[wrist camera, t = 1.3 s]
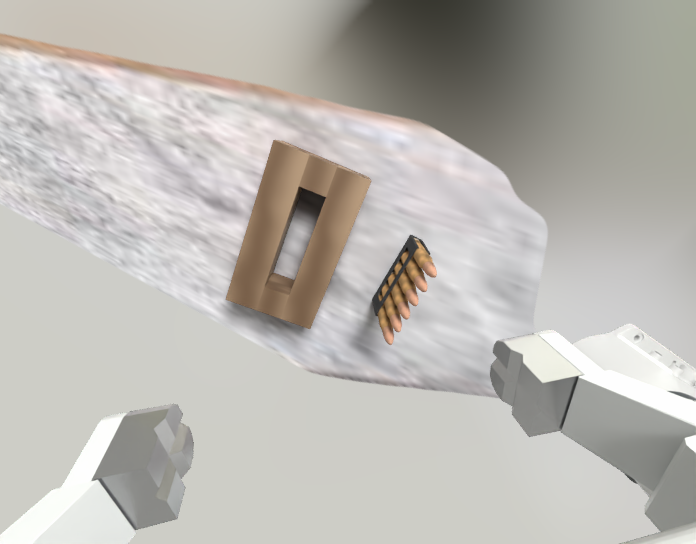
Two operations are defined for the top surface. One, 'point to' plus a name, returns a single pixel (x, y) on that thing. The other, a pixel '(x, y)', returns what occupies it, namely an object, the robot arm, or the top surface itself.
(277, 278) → the slotted wooden block
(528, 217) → the top surface
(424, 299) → the top surface
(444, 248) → the top surface
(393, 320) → the ammunition clip
